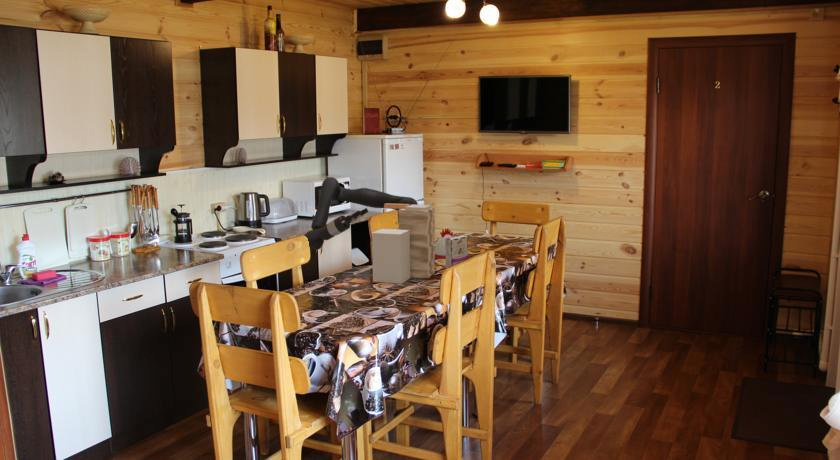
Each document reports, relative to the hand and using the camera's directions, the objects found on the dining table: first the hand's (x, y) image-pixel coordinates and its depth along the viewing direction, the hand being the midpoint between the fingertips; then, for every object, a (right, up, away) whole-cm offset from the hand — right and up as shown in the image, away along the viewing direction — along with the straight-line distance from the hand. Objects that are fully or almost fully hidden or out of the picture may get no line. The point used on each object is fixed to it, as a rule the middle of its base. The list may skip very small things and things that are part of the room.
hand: (363, 211), depth 365 cm
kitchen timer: (+42, -23, +37) cm, 61 cm away
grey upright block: (+14, -33, -16) cm, 39 cm away
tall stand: (+26, -31, -7) cm, 41 cm away
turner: (+22, +1, -11) cm, 25 cm away
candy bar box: (+46, -29, +3) cm, 54 cm away
